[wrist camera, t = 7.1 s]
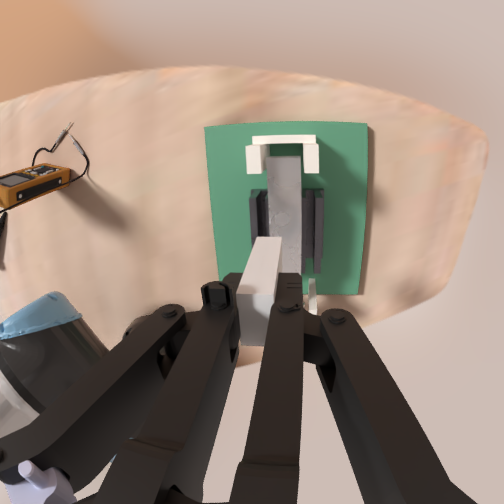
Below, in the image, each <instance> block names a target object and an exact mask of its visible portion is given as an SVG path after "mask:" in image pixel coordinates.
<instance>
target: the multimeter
mask: <svg viewBox="0 0 504 504" xmlns="http://www.w3.org/2000/svg"><path fill="white" fill-rule="evenodd" d="M70 123H71V122H70ZM70 123H69V124H68V126H69V125H70ZM68 126H67V127H66V129H67V128H68ZM66 129H65V130H66ZM65 130H63V131H62V133H61V134H60V136H59V137H58V139H57V140H56V142H55V144H54V146H53V148H52V149H51V150H50V151H49V150H47V149H46V148H40V149H39V150H37V152H38V151H40V150H41V149H44V150H46V151H47V152H51V151H52V150H53V149H54V147H55V145H56V144H57V143H58V142H59V140H60V139H61V138H62V136H63V135H64V133H65V132H66V131H65ZM69 136H70V138H71V139H72V140H73V138H72V137H71V135H70V134H69ZM73 144H74V145H75V146H76V148H77V149H78V150H79V152H80V153H81V154H82V155H83V156H84V157H85V159H86V161H87V166H86V169H85V171H84V173H83V174H82V175H81V176H79V177H77V178H75V179H73V180H71V181H69V175H70V169H69V168H64V167H59V166H55V165H50V164H46V163H43V164H39V165H35V166H33V163H34V159H35V156H36V154H37V152H36V153H35V155H34V158H33V163H32V167H28V168H25V169H22V170H18V171H15V172H12V173H9V174H6V175H3V176H0V207H3V208H4V210H2V211H0V213H2V212H4V211H6V210H10V209H12V208H15V207H17V206H19V205H22V204H24V203H26V202H29V201H31V200H33V199H36V198H38V197H41V196H43V195H46V194H48V193H51V192H53V191H56V190H59V189H61V188H64V187H67V186H69V183H70V182H73V181H75V180H77V179H79V178H80V177H82V176H83V175H84V174H85V172H86V170H87V168H88V163H89V162H88V159H87V157H86V156H85V154H84V152H83V150H82V149H81V148H80V146H79V145H78V143H77V142H76V141H74V140H73Z"/></svg>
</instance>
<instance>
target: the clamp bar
mask: <svg viewBox="0 0 504 504" xmlns="http://www.w3.org/2000/svg"><path fill="white" fill-rule="evenodd" d="M266 167H267V187H268V208H269V232H270V237H282V273H299V274H300V275H301V235H302V214H301V157H300V156H268V157H267V158H266ZM303 307H304V308H305V302H303Z"/></svg>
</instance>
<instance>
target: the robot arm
mask: <svg viewBox="0 0 504 504" xmlns="http://www.w3.org/2000/svg"><path fill="white" fill-rule="evenodd" d="M201 293H202V299H203V307H202V309H201V310H200V311H195V312H188V313H185V309H184V308H183V307H182V306H180V305H178V304H168V305H165V306H162V307H160V308H159V309H157V310H156V311H155V312H154V313H153V314H152V315H148V316H142V317H139V318H137V319H135V320H134V321H133V322H132V323H131V324H130V326H129V327H128V328H127V329H126V331H125V333H124V335H123V339H122V341H121V342H120V343H118V344H117V345H116V346H115V347H114V348H113V349H112V350H111V351H109V350H108V349H107V348H106V347H105V346H104V344H103V343H102V342H101V341H100V340H99V338H98V337H97V336H96V335H95V334H94V332H93V331H92V330H91V329H90V327H89V326H88V325H87V324H86V322H85V321H84V320H83V318H82V314H81V313H78V311H77V310H76V309H75V308H74V307H73V305H72V304H71V303H70V302H69V300H68V299H67V298H66V297H65V295H63V294H62V293H60V292H55V291H54V292H50V293H48V294H46V295H44V296H42V297H40V298H38V299H37V300H35V301H33V302H32V303H30V304H28V305H27V306H25V307H24V308H22V309H21V310H19V311H17V312H16V313H15V314H13V315H12V316H10V317H9V318H7V319H6V320H5V321H4V322H2V323H1V324H0V480H1V481H2V482H3V483H4V484H5V486H6V489H7V492H8V495H9V498H10V501H11V503H12V504H297V494H298V483H299V455H300V439H301V420H302V395H303V361H305V362H308V363H312V364H316V370H317V372H318V375H319V378H320V381H321V383H322V386H323V389H324V391H325V394H326V397H327V399H328V402H329V405H330V407H331V410H332V413H333V415H334V418H335V421H336V424H337V427H338V430H339V432H340V435H341V438H342V441H343V443H344V446H345V449H346V452H347V454H348V457H349V460H350V463H351V466H352V468H353V472H354V474H355V477H356V480H357V483H358V486H359V489H360V492H361V495H362V498H363V500H364V503H365V504H477V503H476V502H475V501H473V500H472V499H471V498H470V497H469V496H467V495H466V494H465V493H464V492H463V491H461V490H460V489H459V488H458V487H457V486H456V485H454V484H453V483H452V482H451V481H450V480H449V477H448V476H447V473H446V471H445V470H444V468H443V466H442V464H441V462H440V460H439V458H438V457H437V454H436V453H435V451H434V449H433V447H432V445H431V443H430V442H429V440H428V438H427V436H426V434H425V432H424V431H423V429H422V427H421V425H420V424H419V422H418V420H417V418H416V417H415V415H414V413H413V412H412V410H411V408H410V407H409V405H408V403H407V401H406V399H405V398H404V396H403V394H402V393H401V391H400V390H399V388H398V386H397V385H396V383H395V381H394V379H393V378H392V376H391V375H390V373H389V371H388V370H387V368H386V366H385V365H384V363H383V362H382V360H381V358H380V357H379V355H378V354H377V352H376V351H375V349H374V347H373V346H372V344H371V343H370V341H369V340H368V338H367V336H366V335H365V333H364V332H363V330H362V329H361V327H360V326H359V324H358V322H357V321H356V319H355V318H354V316H353V315H352V314H351V313H350V312H348V311H346V310H343V309H329V310H326V311H325V312H323V313H322V315H321V316H318V315H314V314H311V313H309V312H308V311H306V310H305V308H304V307H303V284H302V276H301V275H300V274H299V273H282V237H257V238H256V241H255V243H254V246H253V249H252V251H251V254H250V257H249V259H248V262H247V265H246V267H245V270H244V273H233V272H230V273H229V274H227V275H226V276H225V277H224V278H223V280H222V281H213V282H209V283H207V284H205V285H203V286H202V287H201ZM239 339H240V341H241V345H247V346H264V351H263V357H262V362H261V368H260V373H259V379H258V384H257V390H256V395H255V400H254V406H253V411H252V416H251V421H250V426H249V431H248V436H247V441H246V446H245V451H244V456H243V459H242V461H241V462H240V463H239V464H238V467H237V470H236V474H235V479H234V483H233V487H232V492H231V496H230V500H229V502H226V503H225V502H224V503H202V500H203V482H204V478H205V474H206V471H207V467H208V463H209V460H210V456H211V453H212V449H213V446H214V442H215V439H216V435H217V431H218V428H219V424H220V421H221V417H222V414H223V410H224V406H225V403H226V399H227V395H228V392H229V387H230V384H231V381H232V377H233V373H234V369H235V366H236V362H237V358H238V355H239V346H238V343H239ZM109 462H111V463H112V464H111V466H110V468H109V470H108V472H107V474H106V476H105V478H104V480H103V482H102V485H101V487H100V489H99V491H98V492H97V493H95V494H93V495H90V496H89V497H86V498H84V499H82V500H79V501H77V499H76V497H75V496H74V495H73V494H74V493H76V492H78V491H80V490H81V489H82V488H84V487H85V486H86V485H88V484H89V483H90V482H91V481H92V480H93V479H94V478H95V477H96V476H97V475H98V474H99V473H100V472H101V471H102V470H103V468H104V467H105V466H106V465H107V464H108V463H109Z"/></svg>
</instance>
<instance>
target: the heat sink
mask: <svg viewBox="0 0 504 504" xmlns="http://www.w3.org/2000/svg"><path fill="white" fill-rule="evenodd" d="M249 211H250V227H251V244H252V249H253V246H254V243H255V241H256V238H257V237H270V232H269V208H268V189H252V190H251V196H250V197H249ZM301 214H302V235H301V273H305V265H306V258H313V269H314V274H320V272H321V258H323V233H324V189H315V188H301Z"/></svg>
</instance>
